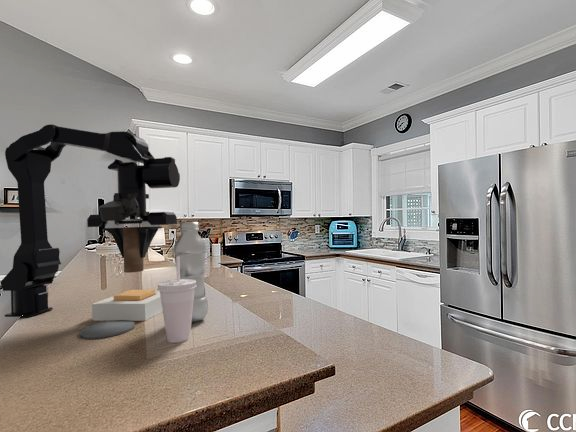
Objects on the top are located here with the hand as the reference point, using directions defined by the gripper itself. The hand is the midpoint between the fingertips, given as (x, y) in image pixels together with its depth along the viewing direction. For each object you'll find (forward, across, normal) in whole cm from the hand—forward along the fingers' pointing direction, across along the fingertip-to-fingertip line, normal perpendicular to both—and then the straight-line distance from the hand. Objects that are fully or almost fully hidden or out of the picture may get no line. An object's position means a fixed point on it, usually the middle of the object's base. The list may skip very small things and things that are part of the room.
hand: (133, 257), depth 74 cm
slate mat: (+12, +2, -12) cm, 17 cm away
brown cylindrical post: (+3, 0, 0) cm, 3 cm away
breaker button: (+9, 0, 0) cm, 9 cm away
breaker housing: (+12, 0, 0) cm, 12 cm away
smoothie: (+13, +18, -16) cm, 27 cm away
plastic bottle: (+13, +16, -6) cm, 21 cm away
